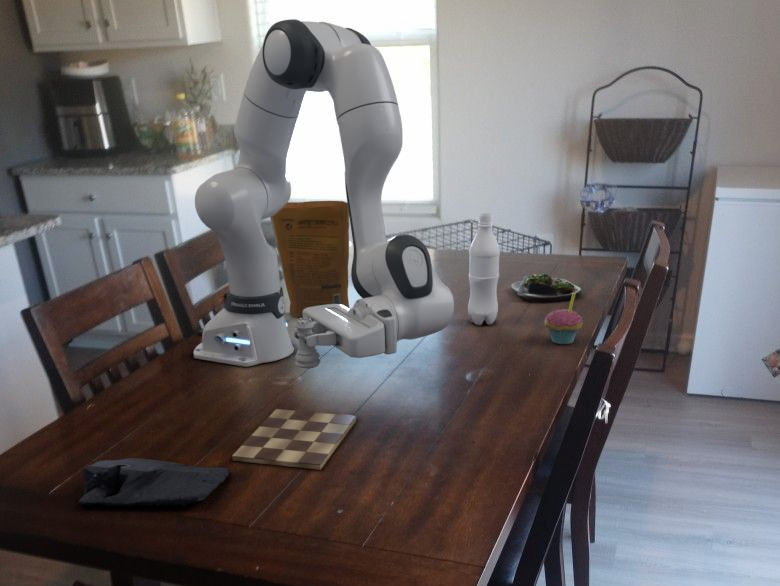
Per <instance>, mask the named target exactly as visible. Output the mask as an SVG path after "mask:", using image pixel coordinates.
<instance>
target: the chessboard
mask: <svg viewBox="0 0 780 586" xmlns="http://www.w3.org/2000/svg"><path fill="white" fill-rule="evenodd" d="M356 422H357V415H351V414H341V413H340V414H339V413H335V414H334V413H325V412H315V411H305V410H291V409H290V410H289V409H279V408H276V409H274V411H273V412H272V413H271V414H270V415H269V416H268V417H267V418H266V419H265V420H264V421H263V422H262V423H261V424H260V425H259V427H258V428H257V429H256V430H254V431H253V433H252V434H251V435H249V437H248V438H247V439H246V440H245V441H244V442H243V443H241V446H239V448H238V449H237V450H236V451H235V452H234V453H233V454H232V455H231V456H232V461H233V462H243V463H253V464H263V465H270V466H280V467H281V466H282V467H288V468H289V467H291V468H300V469H309V470H319V471H321V470H322V468H323V467H324V466H325V464H326V463H327V461H328V460H329V459H330V458H331V456H332V455H333V453H334V452H335V450H336V449H337V448H338V446H339V445H340V444H341V443H342V441H343V440H344V438H345V437H346V436H347V434H348V433H349V432H350V430H351V429H352V428H353V426H354V424H355V423H356Z"/></svg>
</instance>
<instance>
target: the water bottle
mask: <svg viewBox="0 0 780 586" xmlns="http://www.w3.org/2000/svg"><path fill="white" fill-rule="evenodd" d="M493 226H494V223H493V214H492V213H487V212H485V213H484V212H483V213H479V214H478V223H477V231H476V234H475V236H474V238H473V240H472V242H471V244H470V246H469V250H468V255H469V256H468V257H469V262H468V264H469V266H468V269H469V272H468V281H469V290H470V291H469V292H470V293H469V300H468V303H467V315H468V319H469V322H471V323H473V324H474V325H476V326H483V323H484V321H485V323H486V325H488V326H489V325H493V324H494V322H495V321H496V319H497V317H498V316H497V315H498V312H499V302H498V297H497V292H498V291H497V290H498V282H499V278H500V254H501V249H500V245H499V243H498V241H497V240H498V239H496V237H495V234H494V231H493Z"/></svg>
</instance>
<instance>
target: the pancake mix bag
mask: <svg viewBox="0 0 780 586" xmlns="http://www.w3.org/2000/svg"><path fill="white" fill-rule="evenodd" d="M269 219H270V223H271V226H272V230H273V231H272V232H273V236H274V241H275V247H276V251H277V255H278V260H279V263H280V266H281V271H282V275H283V279H284V284H285V288H286V292H287V296H288V299H289V314H290V315H291V316H293V317H295V318H298V319H299V318H302V319H303V314H302V312H303V310H304V309H305V308H308V307H313V306H319V305H327V304H340V305H343V306H345V307H347V308H348V309H351V308H350V300H349V261H350V260H349V259H350V218H349V211H348V204H347V201H343V200H310V201H300V202H299V201H298V202H297V201H295V202H294V201H293V202H291V201H288V203H287V204H286V205H285V206H284V207H283V208H282V209H281V210H280V211H279V212H278V213H276V214H275V215H274V216H271V217H269Z"/></svg>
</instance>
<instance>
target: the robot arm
mask: <svg viewBox="0 0 780 586" xmlns="http://www.w3.org/2000/svg"><path fill="white" fill-rule="evenodd" d="M307 93H315V94H323V93H325V94H326V93H328V94H329V95H330V97H331V101H332V104H333V109H334V113H335V120H336V124H337V128H338V133H339V137H340V138H339V140H340V145H341V151H342V158H343V169H344V170H343V171H344V185H345V186H344V187H345V195H346V203H347V204H348V211H349V226H350V229H351V230H350V231H351V239H352V244H353V248H352V249H353V254H352V256H353V257H352V263H351V268H350V269H351V270H350V277H351V283H352V285H353V288H354V290H355V291H356V293H357V295H358V296H359V297H360V298H359V299H357V300H356V301H355V302H354V303H353V306H352V307H351V308H350V309H348V308H347V307H345V306H343V305H340V304H327V305H319V306H313V307H308V308H305V309H304V310H303V312H302V314H303V318H302V320H304V317H307V320H308V318H311V319H312V323H313V324H314V326H313V328H312V332H313V333H311V334H306V335H305V336H304V343H305V344H306V345H307V346H309V347H313V346H315V347H316V346H318V347H332V346H333V347H334V348H336V349H337V350H339V351H340V352H342V353H344V354H345V355H347V356H348V357H350V358H355V359H362V358H369V357H374V356H379V355H383V354H385V355H393V354H395V353H397V350H398V342H399V341H402V340H416V339H420V338H425V337H428V336H430V335H434V334H436V333H439V332H441V331H443V330H444V329H446V327H448V325H449V324H450V323H451V322H452V319H453V316H454V312H455V299H454V296H453V295H454V294H453V292H452V290H451V289H450V288H449V287H448V286H447V285H445V284H444V282H442V281H441V279H440V278H439V276H438V274H437V272H436V271H435V269H434V266H433V264H432V260H431V255H430V251H429V250H428V248H427V246H426V244H424V242H423V241H422V240H421V239H419V238H418V237H416V236H415V235H411V234H407V233H405V234H404V233H403V234H402V233H401V234H398V235H395V236H394V237H391V238H390V239H388V240H387V235H386V228H385V221H384V213H383V212H384V211H383V206H382V196H383V195H382V193H383V189H384V186H385V182H386V180H387V177H388V175H389V173H390V171H391V170H392V168H393V166H394V164H395V163H396V161H397V159H398V158H399V156H400V153H401V151H402V148H403V142H404V141H403V139H404V137H403V123H402V116H401V112H400V107H399V103H398V102H399V101H398V97H397V94H396V90H395V86H394V84H393V81H392V77H391V74H390V71H389V68H388V66H387V64H386V61H385V58H384V56H383V54H382V53H381V51H380V50H379V49H378V48H376V47H375V46H374V45H372V44H371V42H370V40H369V39H368V38H367V37H366V36H365V35H364V34H363V33H361V32H359V31H357V30H355V29H353V28H350V27H343V26H340V25H337V24H334V23H330V22H325V21H318V22H317V21H309V20H307V21H303V20H299V19H296V18H293V19H292V18H290V19H283V20H279V21H277V22H275V23H274V24H272V25H271V26H269V29H268V30H267V31H266V34H265V36H264V40H263V43H262V46H261V47H260V49H259V51H258V53H257V55H256V57H255V59H254V62H253V64H252V67H251V69H250V72H249V75H248V77H247V80H246V82H245V86H244V89H243V93H242V98H241V101H240V105H239V109H238V113H237V116H236V120H235V123H234V127H233V135H234V137H235V140H236V142H237V143H238V145H239V156H238V161H237V164H236V165H235V166H234V168H233V169H230V170H225V171H222V172H218V173H216V174H213V175H212V176H211V177H209V178H207V179H206V180H205V181H204V182H203V183H201V184H200V185H199V186H198V188H197V190H196V192H195V195H194V207H195V211H196V214H197V216H198V218H199V219H200V221H201V222H202V223H203V224H204V225H205V226H206V228H208V229H210V230H211V231H212V232H213V234H214V236H215V237H216V239H217V241H218V243H219V246H220V248H221V251H222V254H223V257H224V262H225V268H226V275H227V282H228V289H227V291H225V292H224V293H223V294H222V295H221V296H220V297H219V299H220V300H219V303H224V304H223V308H222V309H221V310H219V311H218V312H217V313H216V314H215V315H214V316H213V317H211V319H210V320H209V321H208V322H206V324H205V325H204V327H203V330H201V329H197V330H196V333H197V334H198V335H199V336H201V342H200V343H199V344H198V345H197V346H196V347H195V348H194V349H193V358H194V359H197V360H203V361H209V362H213V363H214V362H215V363H220V364H227V365H233V366H239V367H245V368H246V367H247V368H248V367H252V366H256V365H259V364H263V363H271V362H275V361H278V360H282V359H285V358H287V357H289V356H291V355H292V354H293V353H294V352H295V347H294V345H293V343H292V340H291V337H290V335H289V334H290V333H289V330H288V323H287V322H286V316H285V313H286V310H285V309H286V304H285V295H284V290H283V287H282V286H281V276H280V266H279V254H278V251H277V249H275V247H273V246H272V245H270V244H269V242H268V241H267V239H266V236H265V234H264V231H263V227H262V221H264V220H266V219H270V217H271V216H274V215H275V214H276V213H278V212H279V211H280V210H281V209H282V208H283V207H284V206H285V205H286V204H287V203H289V202H290V199H291V196H292V185H291V181H290V178H289V176H288V174H287V170H288V169H287V168H288V167H287V166H288V155H289V153H290V152H289V151H290V147H291V145H292V140H293V137H294V133H295V130H296V127H297V124H298V120H299V118H300V114H301V111H302V109H303V105H304V101H305V98H306V95H307ZM297 334H298V329H297V328H296V327H295V328H294V329H293V336H294V338H295V339H296V340H298V341H299V337H298V335H297Z"/></svg>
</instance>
